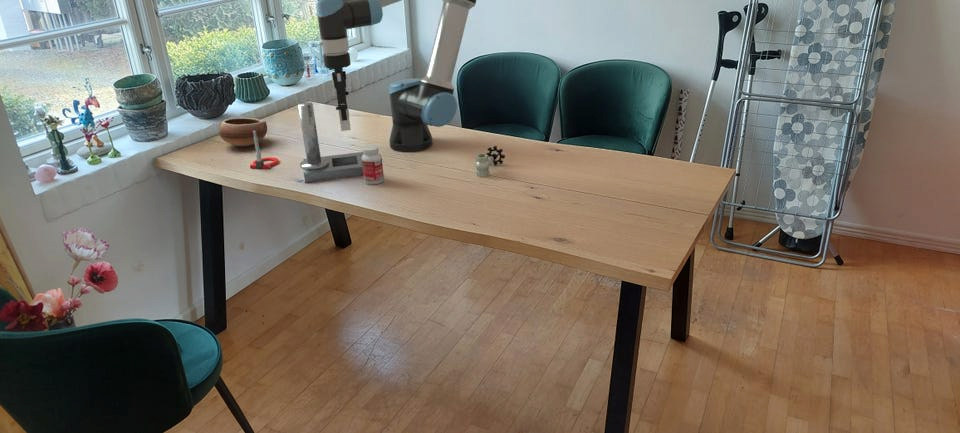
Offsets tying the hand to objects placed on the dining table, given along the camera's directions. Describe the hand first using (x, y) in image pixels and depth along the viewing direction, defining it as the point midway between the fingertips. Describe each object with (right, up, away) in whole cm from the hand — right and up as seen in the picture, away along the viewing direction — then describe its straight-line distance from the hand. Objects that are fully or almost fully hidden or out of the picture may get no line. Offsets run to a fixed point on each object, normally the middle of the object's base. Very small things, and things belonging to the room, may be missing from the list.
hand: (345, 123), depth 206 cm
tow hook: (-32, -11, +25) cm, 42 cm away
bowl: (-45, -2, +43) cm, 63 cm away
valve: (+43, -14, +10) cm, 47 cm away
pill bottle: (+8, -17, +6) cm, 20 cm away
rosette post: (-6, -13, +16) cm, 21 cm away
